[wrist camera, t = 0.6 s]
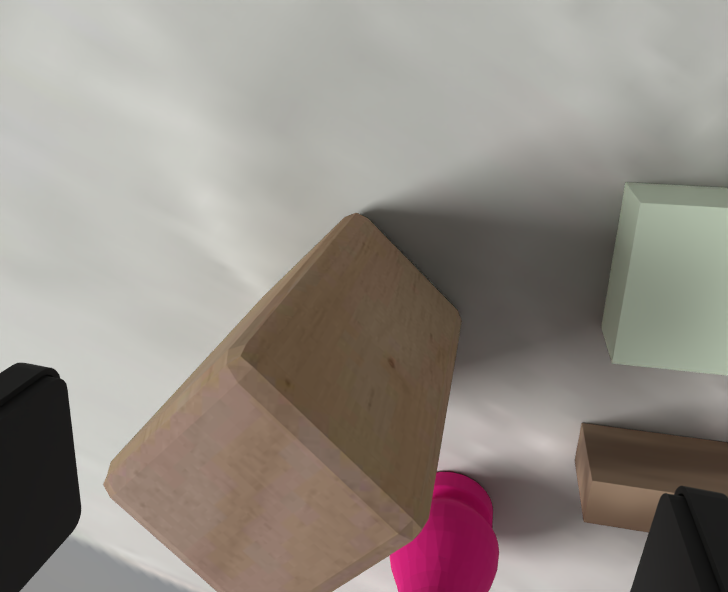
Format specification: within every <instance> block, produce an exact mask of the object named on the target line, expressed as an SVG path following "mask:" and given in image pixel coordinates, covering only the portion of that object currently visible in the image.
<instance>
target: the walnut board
mask: <svg viewBox="0 0 728 592" xmlns="http://www.w3.org/2000/svg"><path fill="white" fill-rule="evenodd" d="M575 466H576V473H577V479H578V486H579V493H580V500H581V506H582V513H583V520H584V522H587V523H593V524H600V525H606V526H612V527H618V528H624V529H631V530H637V531H643V532H649V531H650V527H651V524H652V521H653V518H654V515H655V512H656V508H657V505H658V502H659V500H660V497H661V496H662V494H664V493H668V494H673V495H674V493H675V490H676V489H677V488H678V487H679V486H687V487H692V488H698V489H703V490H708V491H714V492H719V493H723V494H725V495H726V496H727V497H728V443H727V442H720V441H712V440H705V439H698V438H690V437H683V436H675V435H668V434H661V433H653V432H646V431H638V430H631V429H623V428H616V427H609V426H601V425H594V424H586V423H582V424H581V430H580V435H579V440H578V446H577V451H576V456H575Z"/></svg>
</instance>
